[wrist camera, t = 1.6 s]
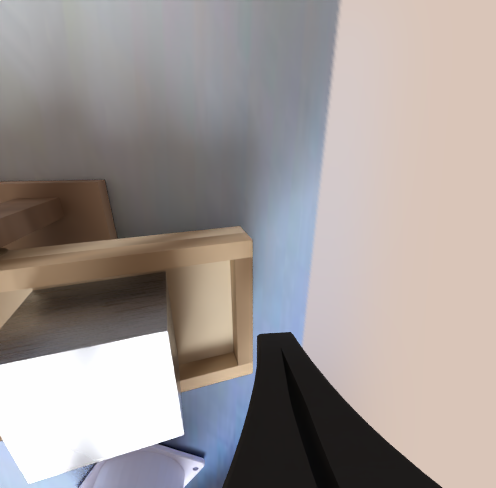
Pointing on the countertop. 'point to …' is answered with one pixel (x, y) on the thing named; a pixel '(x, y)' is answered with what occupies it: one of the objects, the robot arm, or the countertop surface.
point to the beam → (179, 286)
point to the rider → (89, 374)
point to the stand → (54, 213)
